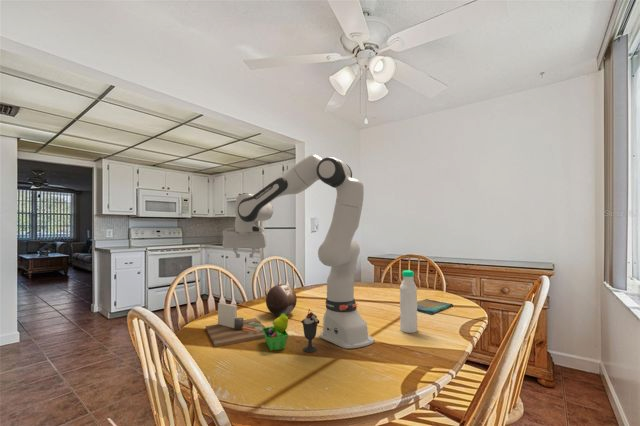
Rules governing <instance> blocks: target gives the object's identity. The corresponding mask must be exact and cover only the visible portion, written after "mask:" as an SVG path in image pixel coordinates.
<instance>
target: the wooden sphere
mask: <svg viewBox="0 0 640 426" xmlns="http://www.w3.org/2000/svg"><path fill="white" fill-rule="evenodd" d="M265 304H266V308H267V309H268V311H269V312H270V313H271V314H272V315H274V316H277V317H280V315H281V314H282V313H284V314H286V315H287V316H288V315H289V314H291V313H292V312H293V311H294V309H295V307H296V306H297V294H296V291H295V290H294V288H292V287H291V286H290V285H287V284H284V283H283V284H282V283H280V284H276V285H274V286H273V287H271V288H270V289H269V290H268V291H267V294H266V297H265Z"/></svg>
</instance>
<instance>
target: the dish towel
mask: <svg viewBox="0 0 640 426" xmlns="http://www.w3.org/2000/svg"><path fill="white" fill-rule="evenodd" d="M451 306H452V307H453V306H454V304H453V303H450V302H444V301H438V300H433V299H429V298H425V299H421V300H417V311H418V312H417V313H421V314H427V315H430V316H431V315H436V314H438V313H440V312H441V311H444V310H446V309H449V307H450V308H451Z"/></svg>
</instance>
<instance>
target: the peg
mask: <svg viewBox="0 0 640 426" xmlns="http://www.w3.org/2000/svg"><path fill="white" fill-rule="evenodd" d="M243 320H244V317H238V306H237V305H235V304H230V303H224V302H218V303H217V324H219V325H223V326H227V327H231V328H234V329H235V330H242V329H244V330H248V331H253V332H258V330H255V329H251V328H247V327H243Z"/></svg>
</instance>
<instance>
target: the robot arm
mask: <svg viewBox="0 0 640 426" xmlns="http://www.w3.org/2000/svg"><path fill="white" fill-rule="evenodd" d="M319 180H320V181H321V182H322V183H324V184H326V185H327V186H329V187H331V188H333V189H335V190H336V199H335V203H334V204H335V205H334V209H333V214H332V220H331V223H330V225H329V228H328V231H327V233H326V236H325V237H324V240H323V242H322V243H321V244H320V245H319V247H318V250H317V257H318V260H319V262H321V264H323V265H324V266H327V267H330V271H329V274H328V276H327V277H326V278H327V279H326V299H325V308H326V310H325V312H324V314H323V319H322V320H323V321H322V330H321V331H322V332H321V333H320V334H319V338H320V339H323V340H324V341H327V342H330V343H332V344H333V345H336V346H339V347H340V348H342V349H357V348H363V347H367V346H369V345H372V344H373V343H374V342H375V338H374V337H373V336H371V335H370V334H369V331H368V330H369V329H368V324H367V321H366V319H363V317H362V316H361V314H360V313H359V312H358V310H357V309H358V308H357V307H358V303H357V302H356V300H355V295H354V294H355V293H354V292H355V290H354V289H355V288H354V287H355V285H354V284H355V274H356V268H357V263H358V259H359V255H360V253H361V247H360V245H359V243H358V242H357V241H356V240H355V239H353V238H354V236H355V233H356V231H357V230H358V228H359V226H360V220H361V215H362V209H363V203H364V193H365V192H364V191H365V190H364V184H363V183H362V182H361V180H358V179H357V178H353V172H352V169H351V167H350V166H349V164H347V163H345V162H344V161H343V160H341V159H339V158H336V157H333V156H329V157H328V156H327V157H324V158H322V157H321V156H319V155H318V154H310V155H308V156H307V157H305V158H303V159H301V160H300V161H299V162H298V163H296V164H295V165H294V166H293V167H291V168H290V169H289V170H288V171H286V172H284V174H283V175H281V176H279V177H278V178H276V179H275V180H273V181H272V182H270V183H269V184H267V185H266V186H264V187H263V188H262V189H261V190H259V191H257V193H255V194H253V193H250V192H249V193H248V192H246V193H245V192H244V193H240V194H238V195H237V196H236V198H235V205H234V214H235V221H234V227H229V228H228V227H227V228H225V229H223V231H222V247H223V249H232V250H233V252H234V253H235V258H236V259H237V258H238V259H240V258H241V256H240V255H241V253H238V249H251V251H252V252H251V253H249V258H250V259H253V258H254V256H255V255H254V254H255V252H256V251H257V249H264V248H265V249H266V247H267V242H268V241H267V235H266V233H265V232H264V231H265V228H264V226H261V225H257V224H255V222H265V221H268V220H270V219H271V218H272V216H273V214H274V207H273V205H272V203H271V202H272V201H274V200H275V199H277V198H280V197H282V196H286V195H287V196H288V195H296V194H300V193H302V192H304V191H305V190H307V189H309V188H310V187H312V185H313V184H315V183H316V182H317V181H319Z"/></svg>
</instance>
